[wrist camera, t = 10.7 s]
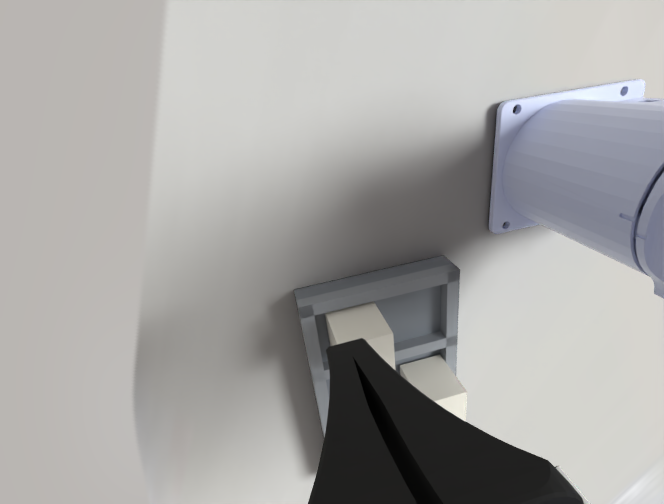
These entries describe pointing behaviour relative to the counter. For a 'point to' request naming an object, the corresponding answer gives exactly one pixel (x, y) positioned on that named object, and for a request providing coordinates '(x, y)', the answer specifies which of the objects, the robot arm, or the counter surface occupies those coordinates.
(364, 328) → the off-white rectangular block
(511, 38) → the counter surface
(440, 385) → the cream rectangular block
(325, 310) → the grey divided tray
